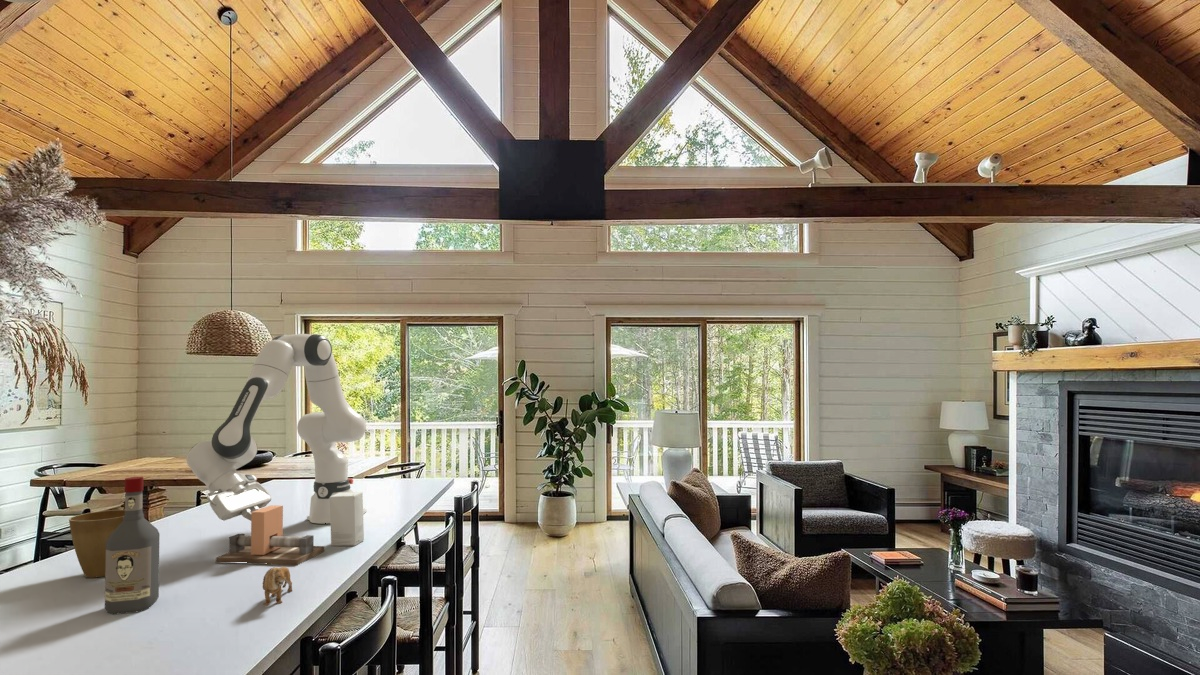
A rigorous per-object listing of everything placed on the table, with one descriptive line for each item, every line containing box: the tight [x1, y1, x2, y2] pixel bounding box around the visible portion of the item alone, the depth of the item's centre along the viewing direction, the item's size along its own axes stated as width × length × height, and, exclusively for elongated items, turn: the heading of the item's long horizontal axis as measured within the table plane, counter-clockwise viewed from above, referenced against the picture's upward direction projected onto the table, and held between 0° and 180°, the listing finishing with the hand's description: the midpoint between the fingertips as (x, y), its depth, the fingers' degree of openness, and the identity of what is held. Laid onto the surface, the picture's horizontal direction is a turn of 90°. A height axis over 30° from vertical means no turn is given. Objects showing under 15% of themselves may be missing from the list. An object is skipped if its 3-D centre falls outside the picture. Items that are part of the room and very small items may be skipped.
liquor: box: [104, 476, 160, 615], centre depth 157 cm, size 9×9×30 cm
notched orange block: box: [250, 505, 284, 555], centre depth 197 cm, size 9×4×12 cm, turn 173°
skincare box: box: [329, 491, 365, 547], centre depth 210 cm, size 8×7×16 cm
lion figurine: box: [262, 566, 293, 606], centre depth 161 cm, size 15×5×9 cm, turn 17°
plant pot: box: [68, 509, 125, 579], centre depth 182 cm, size 15×15×16 cm
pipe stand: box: [215, 533, 325, 566], centre depth 196 cm, size 14×25×6 cm, turn 83°
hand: (259, 521), depth 197 cm, fingers closed, pressing on notched orange block
